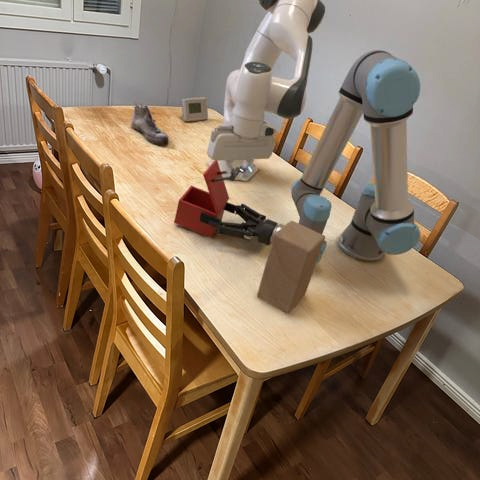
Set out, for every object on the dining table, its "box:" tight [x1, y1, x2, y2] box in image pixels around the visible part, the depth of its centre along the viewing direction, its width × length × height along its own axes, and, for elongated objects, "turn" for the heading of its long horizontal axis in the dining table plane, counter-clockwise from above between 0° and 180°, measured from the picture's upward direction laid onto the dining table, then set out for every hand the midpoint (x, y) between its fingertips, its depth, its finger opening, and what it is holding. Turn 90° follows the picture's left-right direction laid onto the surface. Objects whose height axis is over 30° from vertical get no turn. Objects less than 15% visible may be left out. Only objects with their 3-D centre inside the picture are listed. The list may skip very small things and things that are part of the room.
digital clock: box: [181, 96, 209, 123], centre depth 223 cm, size 16×9×11 cm, turn 123°
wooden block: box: [256, 220, 326, 314], centre depth 113 cm, size 10×10×20 cm
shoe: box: [130, 103, 169, 147], centre depth 193 cm, size 25×11×12 cm, turn 30°
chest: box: [173, 184, 227, 239], centre depth 138 cm, size 13×10×9 cm
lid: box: [202, 161, 240, 214], centre depth 130 cm, size 13×10×8 cm
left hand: (236, 172), depth 127 cm, fingers closed on lid, 3 cm apart
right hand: (209, 209), depth 137 cm, fingers closed on chest, 11 cm apart
